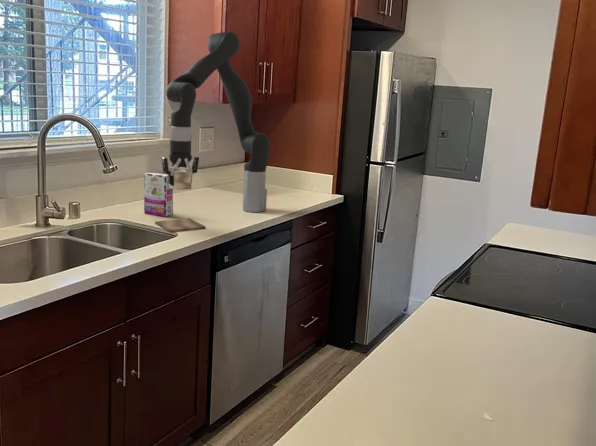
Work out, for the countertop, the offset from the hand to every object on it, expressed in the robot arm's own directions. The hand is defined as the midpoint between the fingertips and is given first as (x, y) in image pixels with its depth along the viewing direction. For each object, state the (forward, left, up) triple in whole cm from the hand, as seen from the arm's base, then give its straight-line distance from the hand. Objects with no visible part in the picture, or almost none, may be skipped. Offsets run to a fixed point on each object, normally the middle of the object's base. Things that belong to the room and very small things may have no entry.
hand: (180, 184), depth 216 cm
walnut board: (0, 0, -16) cm, 16 cm away
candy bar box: (0, -21, -16) cm, 26 cm away
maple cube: (0, 0, -1) cm, 1 cm away
